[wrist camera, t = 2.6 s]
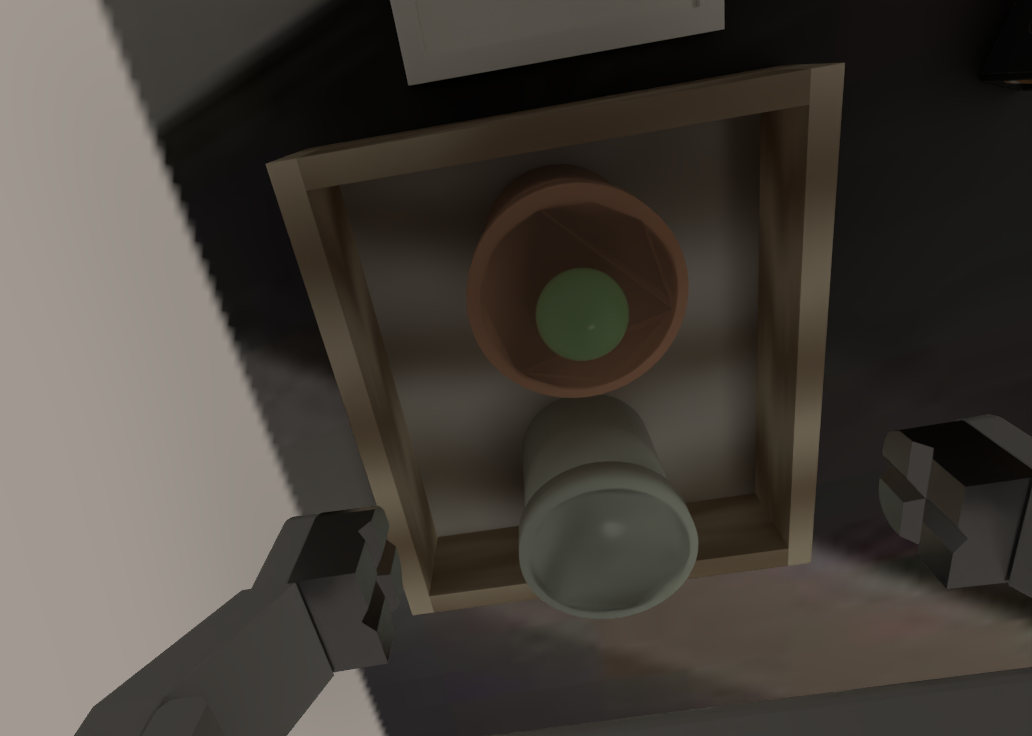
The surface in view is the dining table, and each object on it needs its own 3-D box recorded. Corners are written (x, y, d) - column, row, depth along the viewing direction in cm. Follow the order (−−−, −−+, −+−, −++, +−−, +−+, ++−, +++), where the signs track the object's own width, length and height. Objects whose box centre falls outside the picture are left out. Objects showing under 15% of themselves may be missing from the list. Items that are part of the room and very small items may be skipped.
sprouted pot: (461, 171, 23) (435, 227, 14) (634, 141, 23) (712, 181, 14) (491, 329, 26) (485, 455, 17) (645, 305, 26) (716, 421, 17)
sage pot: (505, 398, 27) (505, 495, 21) (650, 376, 27) (695, 468, 21) (527, 513, 30) (533, 628, 24) (659, 494, 30) (700, 606, 24)
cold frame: (307, 148, 23) (265, 163, 19) (782, 65, 22) (844, 62, 18) (424, 546, 32) (412, 615, 28) (770, 498, 31) (810, 562, 27)
